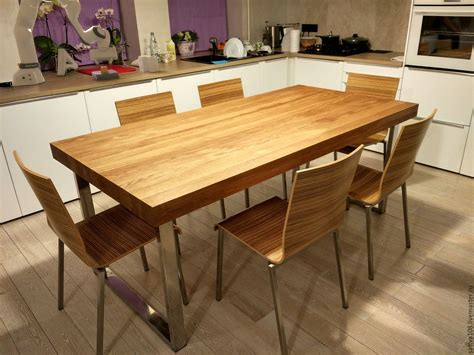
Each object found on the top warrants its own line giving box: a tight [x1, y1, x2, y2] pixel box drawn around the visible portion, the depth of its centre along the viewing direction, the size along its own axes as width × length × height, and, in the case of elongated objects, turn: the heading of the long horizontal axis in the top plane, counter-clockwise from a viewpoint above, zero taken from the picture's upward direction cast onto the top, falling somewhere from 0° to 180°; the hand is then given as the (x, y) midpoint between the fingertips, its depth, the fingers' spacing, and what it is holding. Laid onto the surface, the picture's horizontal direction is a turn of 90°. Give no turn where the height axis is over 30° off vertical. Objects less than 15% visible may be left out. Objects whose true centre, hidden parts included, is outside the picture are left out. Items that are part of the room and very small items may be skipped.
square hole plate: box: [91, 69, 120, 81], centre depth 298 cm, size 16×16×4 cm
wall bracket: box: [57, 48, 79, 77], centre depth 325 cm, size 22×4×30 cm
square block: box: [100, 65, 109, 73], centre depth 297 cm, size 4×4×8 cm
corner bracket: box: [137, 54, 160, 73], centre depth 318 cm, size 11×11×12 cm
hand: (103, 63), depth 295 cm, fingers open, 8 cm apart
